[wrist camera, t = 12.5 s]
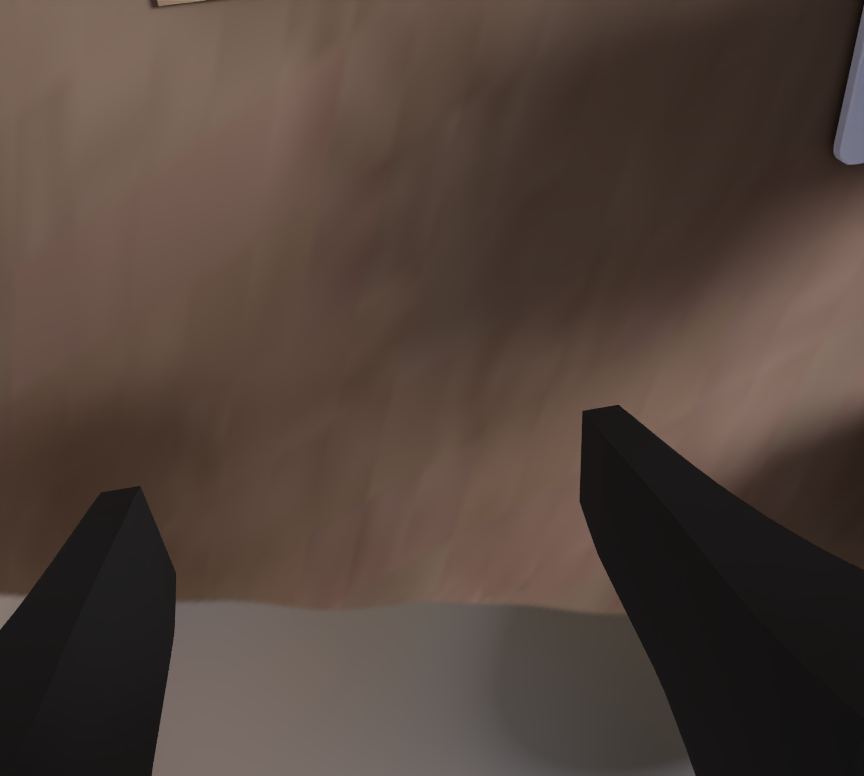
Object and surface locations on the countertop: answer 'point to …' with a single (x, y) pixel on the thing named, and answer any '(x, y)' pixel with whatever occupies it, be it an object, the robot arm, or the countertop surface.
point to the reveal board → (174, 2)
